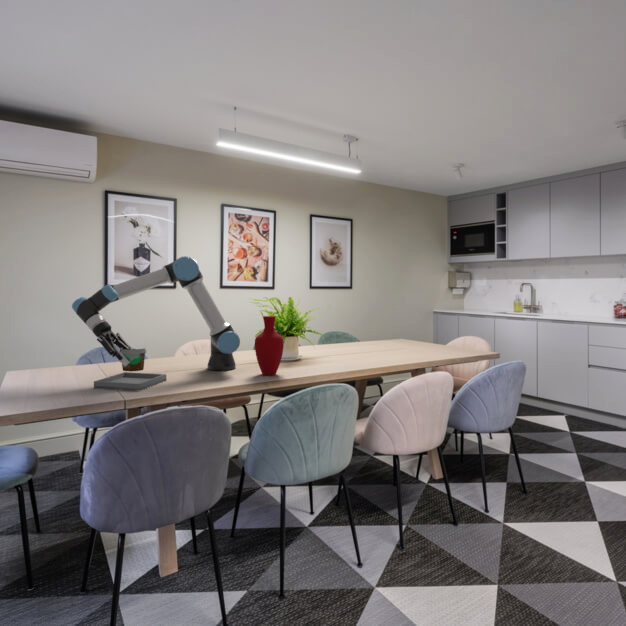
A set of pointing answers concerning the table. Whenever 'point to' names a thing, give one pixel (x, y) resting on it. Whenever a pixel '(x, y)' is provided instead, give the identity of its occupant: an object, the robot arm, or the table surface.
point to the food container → (134, 359)
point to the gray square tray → (130, 381)
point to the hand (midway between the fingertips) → (131, 363)
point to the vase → (269, 347)
